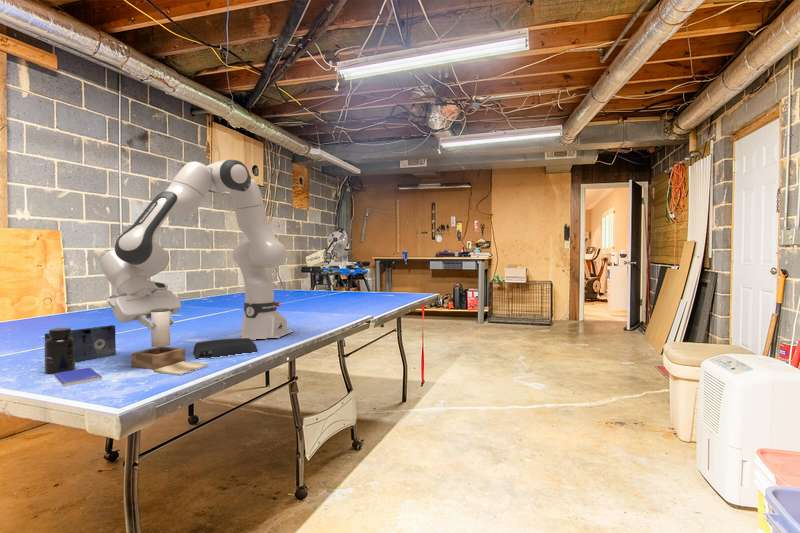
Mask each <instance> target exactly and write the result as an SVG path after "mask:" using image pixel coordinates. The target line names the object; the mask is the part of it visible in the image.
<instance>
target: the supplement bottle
mask: <svg viewBox="0 0 800 533" xmlns="http://www.w3.org/2000/svg"><path fill="white" fill-rule="evenodd" d="M71 330H72V329H71V328H70V327H57V328H51V329H49V330H48V333H49V337H50V339H48V340H47V341H46V342H45V341H44V372H45V373H46V374H53V375H54V373H59V372H66V371H72V370H75V368H76V363H75V339H74V338H72V337H70V335H71Z"/></svg>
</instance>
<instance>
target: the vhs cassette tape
mask: <svg viewBox="0 0 800 533" xmlns="http://www.w3.org/2000/svg"><path fill="white" fill-rule="evenodd" d="M70 337H72V338H74V339H75V364H77V363H81V361H82V362H87V361H92V359H93V360H96V359H97V358H98V359H102V358H107V357H112V356H116V353H117V350H116V348H117V344H116V325H113V324H110V325H103V326H102V325H101V326H96V327H95V326H93V327H88V328H78V329H71V335H70ZM48 339H50V337H49V332H48V333H44V343H45V342H46V341H47V340H48ZM86 360H87V361H86ZM76 362H77V363H76Z"/></svg>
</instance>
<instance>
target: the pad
mask: <svg viewBox="0 0 800 533" xmlns="http://www.w3.org/2000/svg"><path fill="white" fill-rule="evenodd" d="M207 365H208V366H209V364H206V363H205V364H204V363H198V362H189V361H185V362H179V363H176V364H172V365H169V366H165V367H162V368H158V369H155V370H153V369H152V370H153V373H156V372H158V373H159V374H164V373H171V374H170V375H172V374H182V373H186V372H189V371H192V370H195V369H198V368H202V367H205V366H207ZM205 368H206V367H205ZM202 369H203V368H202Z"/></svg>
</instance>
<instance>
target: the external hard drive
mask: <svg viewBox="0 0 800 533" xmlns="http://www.w3.org/2000/svg"><path fill="white" fill-rule="evenodd" d="M257 347H258V346H257V344H256V343H255V342H254V340H251V339H250V338H241V337H239V338H223V339H213V340H204V341H200V342H198V341H197V342H196V343H195V344H194V347H193V351H192V353H193V357H194V356H195V357H194V359H199V358H210V359H212V358H211V357H220V356H228V355H235V354H242V353H252V352H257V351H258V348H257ZM258 352H259V351H258ZM199 360H200V359H199Z"/></svg>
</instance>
